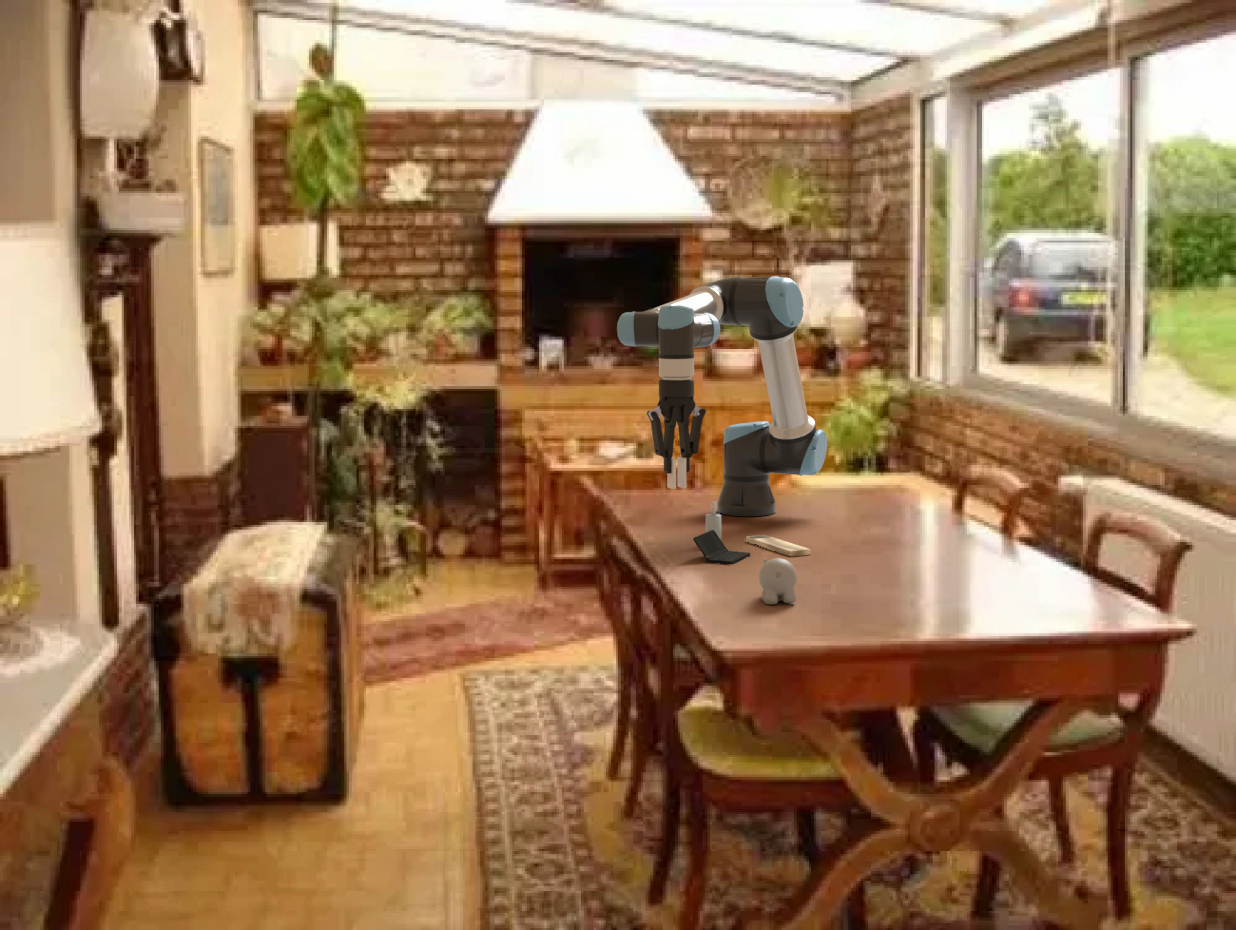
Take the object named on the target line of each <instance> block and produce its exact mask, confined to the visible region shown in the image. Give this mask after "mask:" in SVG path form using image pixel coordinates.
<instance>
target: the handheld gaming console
mask: <svg viewBox="0 0 1236 930" xmlns="http://www.w3.org/2000/svg"><path fill="white" fill-rule="evenodd" d="M692 541H694V543H695V545H696V546H697V548H698V549H699V551H700V552H701V554H702V555H703V557H704V558H705V559H706V562H705V563H707V564H715V563H720V564H719V565H726V564H733V565H735V564H737V563H739V562H740V561H743V560H744V559H747V558H746V557H748V558H750V557H751V552H745V551H737V550H735V551H733V550H732V551H731V550H729V549H728V548H727V547H726V546H725V544H724V543H723V541H722V539H721V540H720V538H719V537H718V535H717V534H716V532H715V531H714V530H711V531H709V532H706V531H705V532H704V533H702V534H699V535H697V536H695V537H693V539H692ZM734 563H735V564H734Z"/></svg>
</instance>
